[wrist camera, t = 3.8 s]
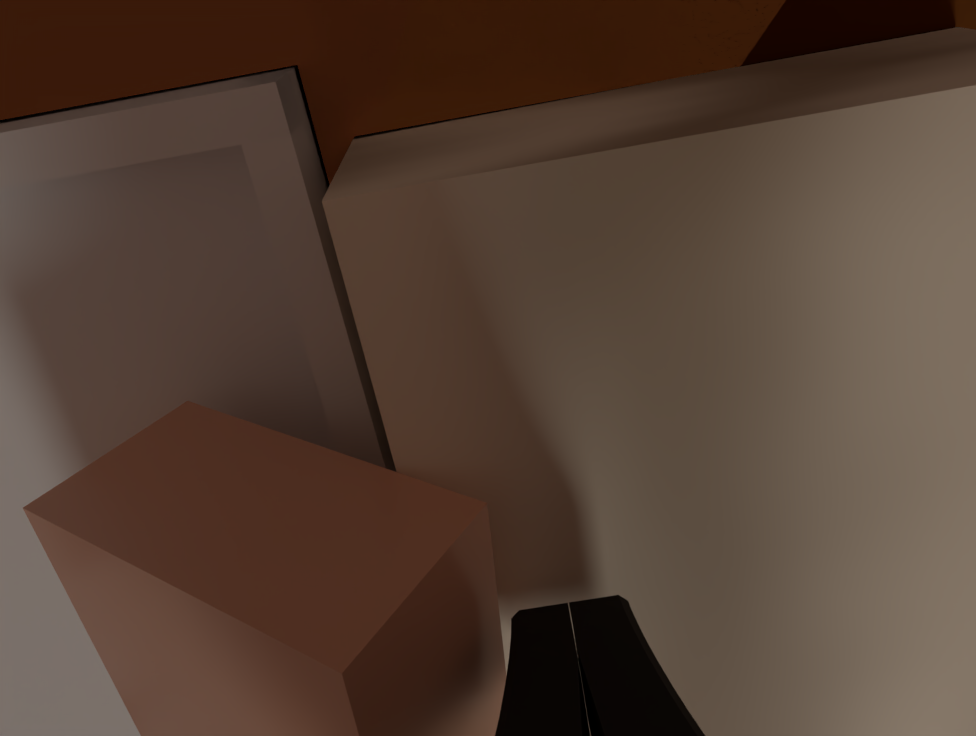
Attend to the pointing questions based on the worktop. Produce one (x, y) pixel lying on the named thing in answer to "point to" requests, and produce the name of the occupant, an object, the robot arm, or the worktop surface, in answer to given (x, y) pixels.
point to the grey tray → (155, 327)
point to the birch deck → (705, 368)
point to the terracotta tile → (277, 586)
